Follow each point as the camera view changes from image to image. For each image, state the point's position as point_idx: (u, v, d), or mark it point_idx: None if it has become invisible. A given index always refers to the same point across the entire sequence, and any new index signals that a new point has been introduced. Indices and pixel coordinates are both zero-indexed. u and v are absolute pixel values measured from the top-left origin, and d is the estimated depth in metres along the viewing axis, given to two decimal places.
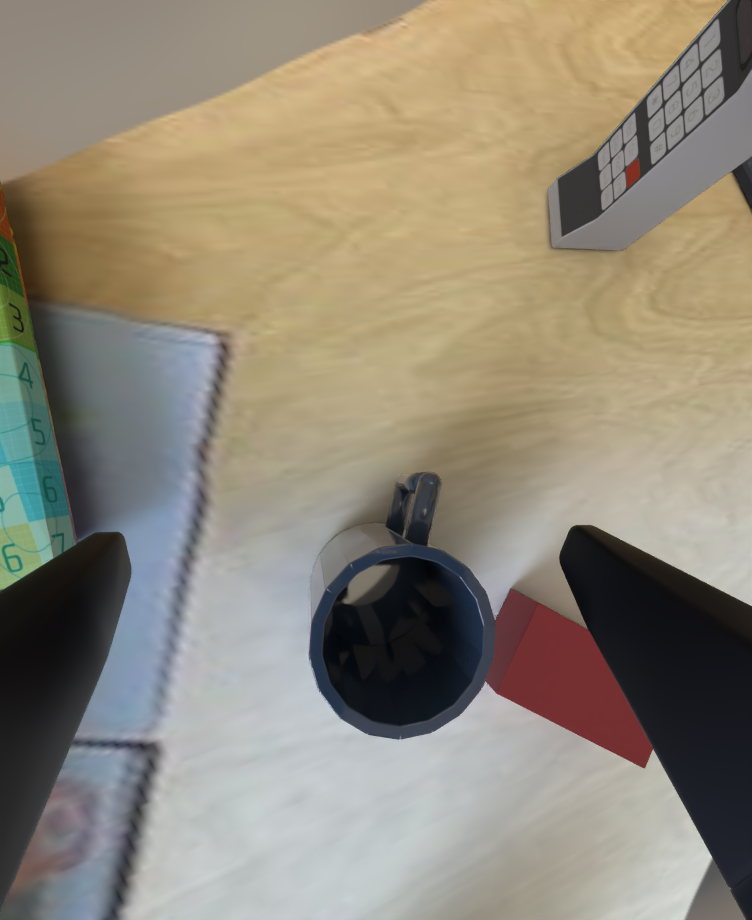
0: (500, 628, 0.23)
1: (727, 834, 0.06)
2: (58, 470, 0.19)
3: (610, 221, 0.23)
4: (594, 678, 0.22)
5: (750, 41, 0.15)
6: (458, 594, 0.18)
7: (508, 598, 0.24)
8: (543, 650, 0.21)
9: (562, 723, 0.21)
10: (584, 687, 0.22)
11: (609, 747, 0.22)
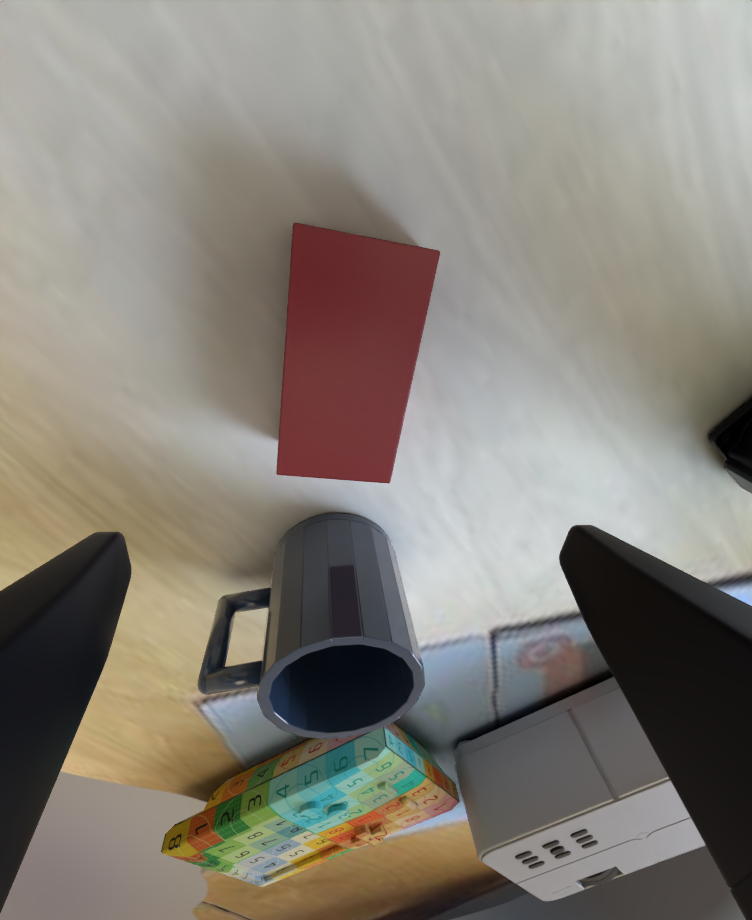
0: None
1: (727, 834, 0.06)
2: (330, 754, 0.30)
3: None
4: (337, 375, 0.16)
5: None
6: None
7: None
8: (327, 451, 0.17)
9: (404, 399, 0.17)
10: (353, 385, 0.16)
11: (420, 323, 0.15)
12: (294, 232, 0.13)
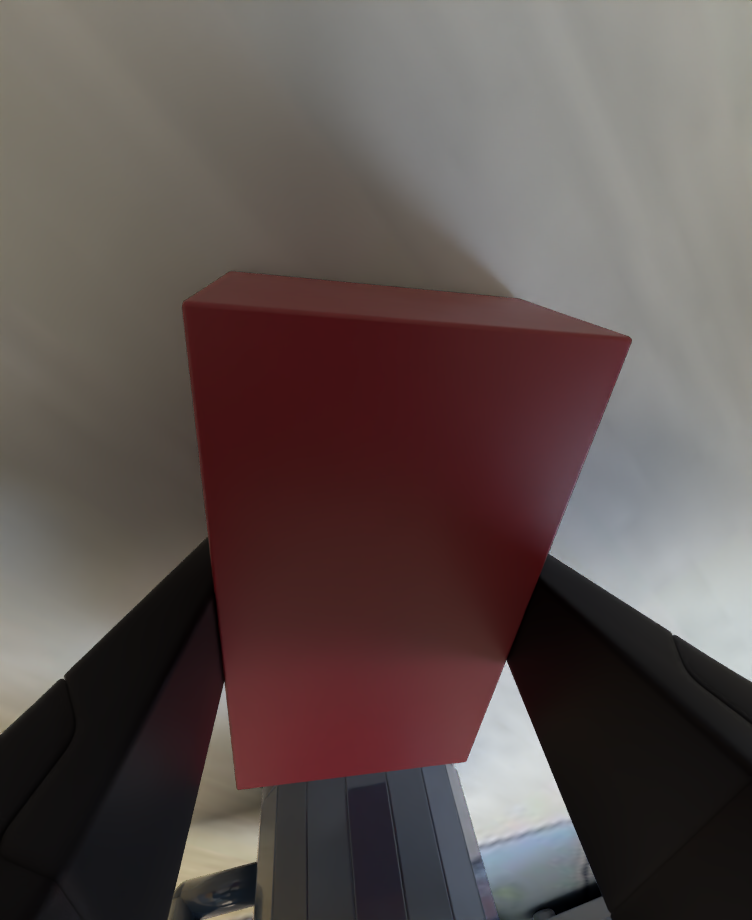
0: None
1: (609, 855, 0.06)
2: None
3: None
4: (354, 631, 0.07)
5: None
6: None
7: None
8: (339, 744, 0.08)
9: (505, 645, 0.07)
10: (391, 640, 0.07)
11: (558, 509, 0.06)
12: (190, 329, 0.04)
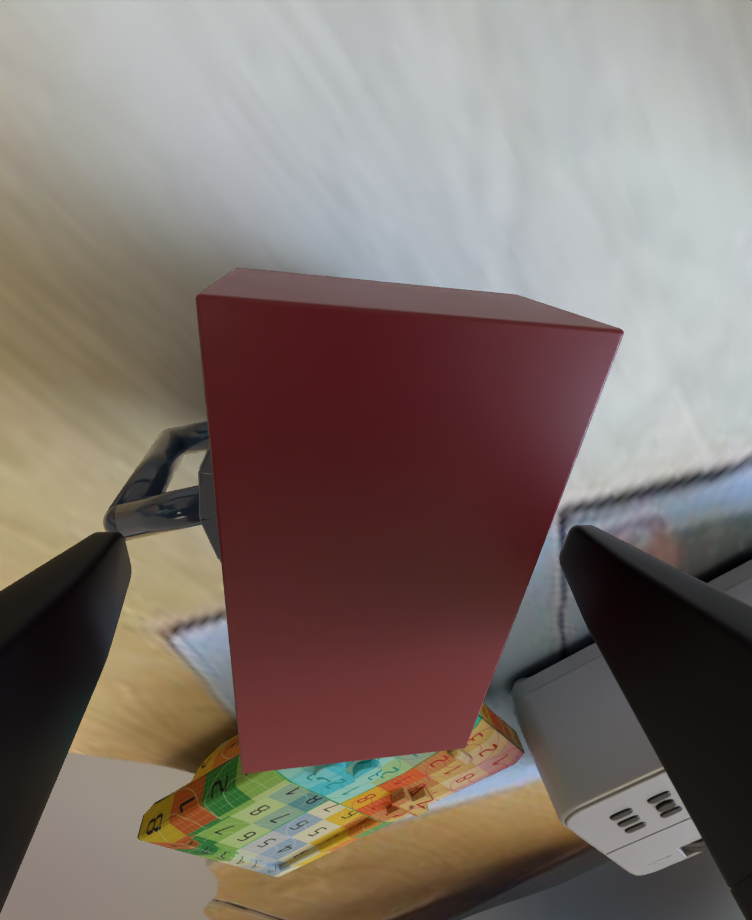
0: None
1: (727, 834, 0.06)
2: None
3: None
4: (357, 616, 0.07)
5: None
6: None
7: None
8: (342, 729, 0.08)
9: (503, 631, 0.08)
10: (393, 626, 0.07)
11: (553, 497, 0.06)
12: (203, 321, 0.04)
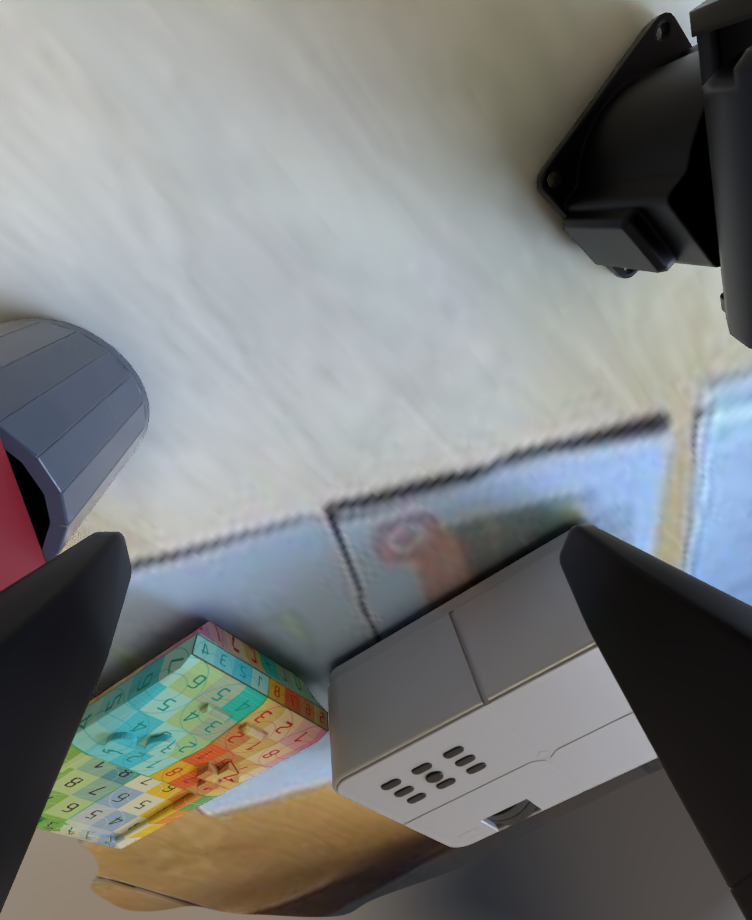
0: None
1: (727, 834, 0.06)
2: (139, 674, 0.24)
3: None
4: None
5: None
6: None
7: None
8: None
9: None
10: None
11: None
12: None
